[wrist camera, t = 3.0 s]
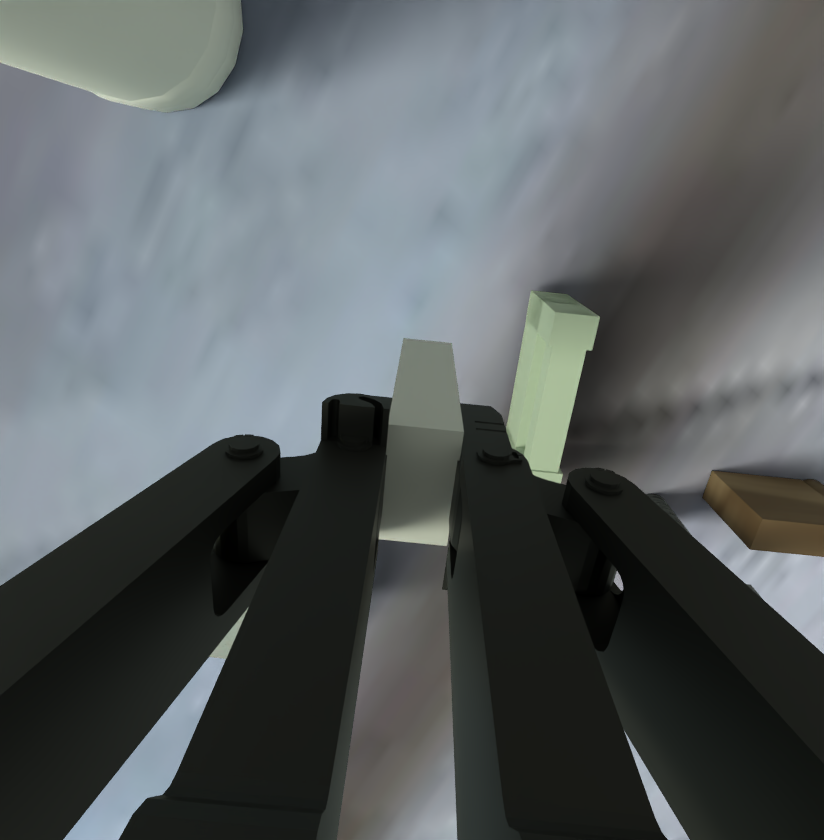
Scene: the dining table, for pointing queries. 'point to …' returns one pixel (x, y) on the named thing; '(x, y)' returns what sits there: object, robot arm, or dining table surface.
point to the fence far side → (770, 511)
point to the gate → (549, 379)
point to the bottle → (126, 47)
